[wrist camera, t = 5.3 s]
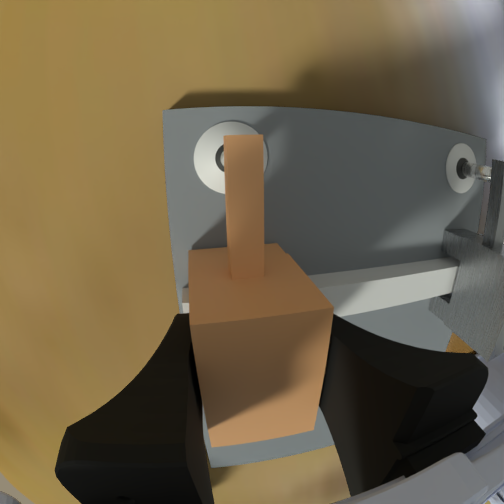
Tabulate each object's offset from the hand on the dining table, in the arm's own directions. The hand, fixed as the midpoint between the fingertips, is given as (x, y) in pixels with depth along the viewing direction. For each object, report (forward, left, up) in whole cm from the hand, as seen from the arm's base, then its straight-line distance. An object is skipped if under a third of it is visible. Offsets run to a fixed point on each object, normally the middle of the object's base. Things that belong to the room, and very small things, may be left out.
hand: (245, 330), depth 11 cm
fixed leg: (-13, -2, -2) cm, 13 cm away
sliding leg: (0, -2, -2) cm, 3 cm away
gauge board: (-6, +3, -3) cm, 8 cm away
